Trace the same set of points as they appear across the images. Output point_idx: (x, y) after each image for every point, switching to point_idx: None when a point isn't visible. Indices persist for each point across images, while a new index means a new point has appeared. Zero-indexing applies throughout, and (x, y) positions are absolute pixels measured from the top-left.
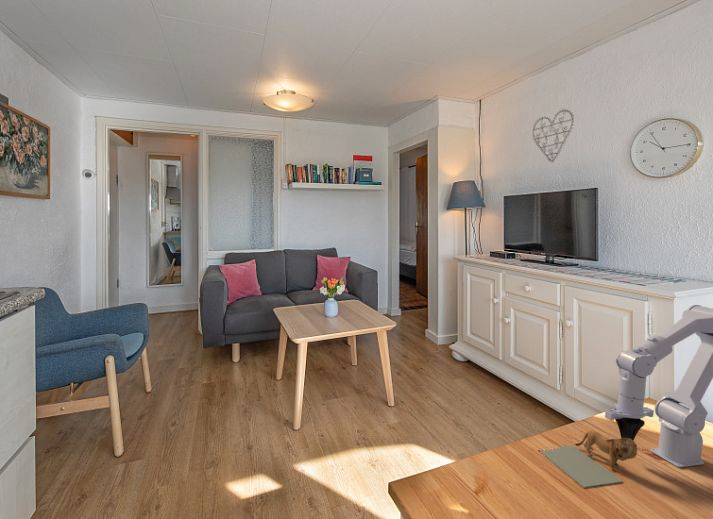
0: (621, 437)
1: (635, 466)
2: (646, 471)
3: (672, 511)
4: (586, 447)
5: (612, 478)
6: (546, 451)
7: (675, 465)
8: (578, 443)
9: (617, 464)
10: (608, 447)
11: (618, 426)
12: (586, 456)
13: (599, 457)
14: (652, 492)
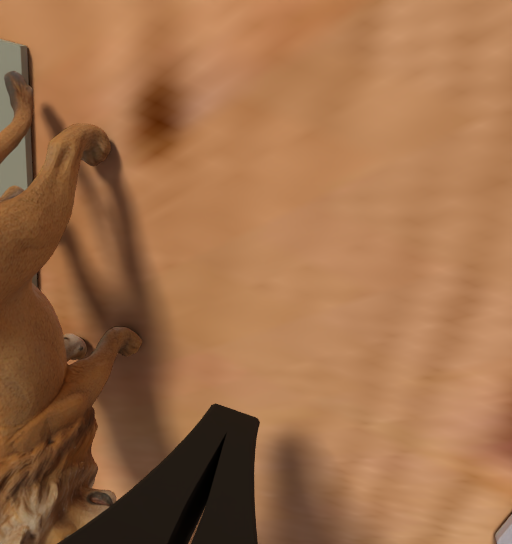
0: (200, 425)
1: (247, 395)
2: (257, 439)
3: None
4: (7, 189)
5: None
6: None
7: (502, 528)
8: (12, 99)
9: (124, 351)
10: None
11: (109, 507)
12: None
13: (112, 242)
14: (111, 482)
